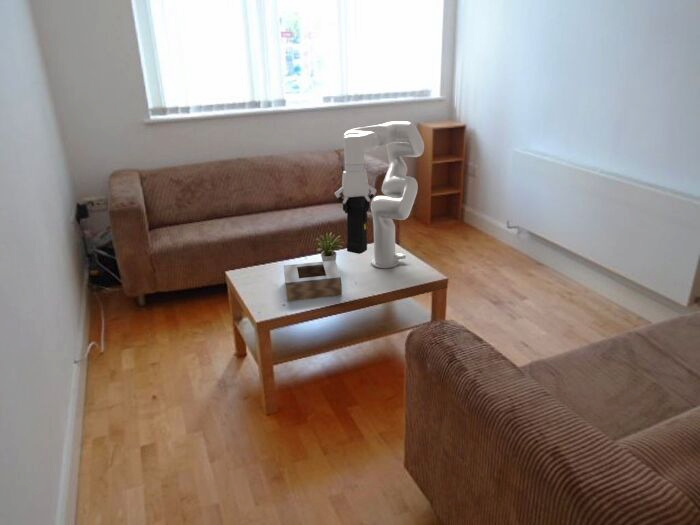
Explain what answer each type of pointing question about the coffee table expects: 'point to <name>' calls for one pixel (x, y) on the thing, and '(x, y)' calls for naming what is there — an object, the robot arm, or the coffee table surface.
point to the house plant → (329, 248)
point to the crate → (312, 280)
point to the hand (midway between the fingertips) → (356, 211)
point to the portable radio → (356, 225)
